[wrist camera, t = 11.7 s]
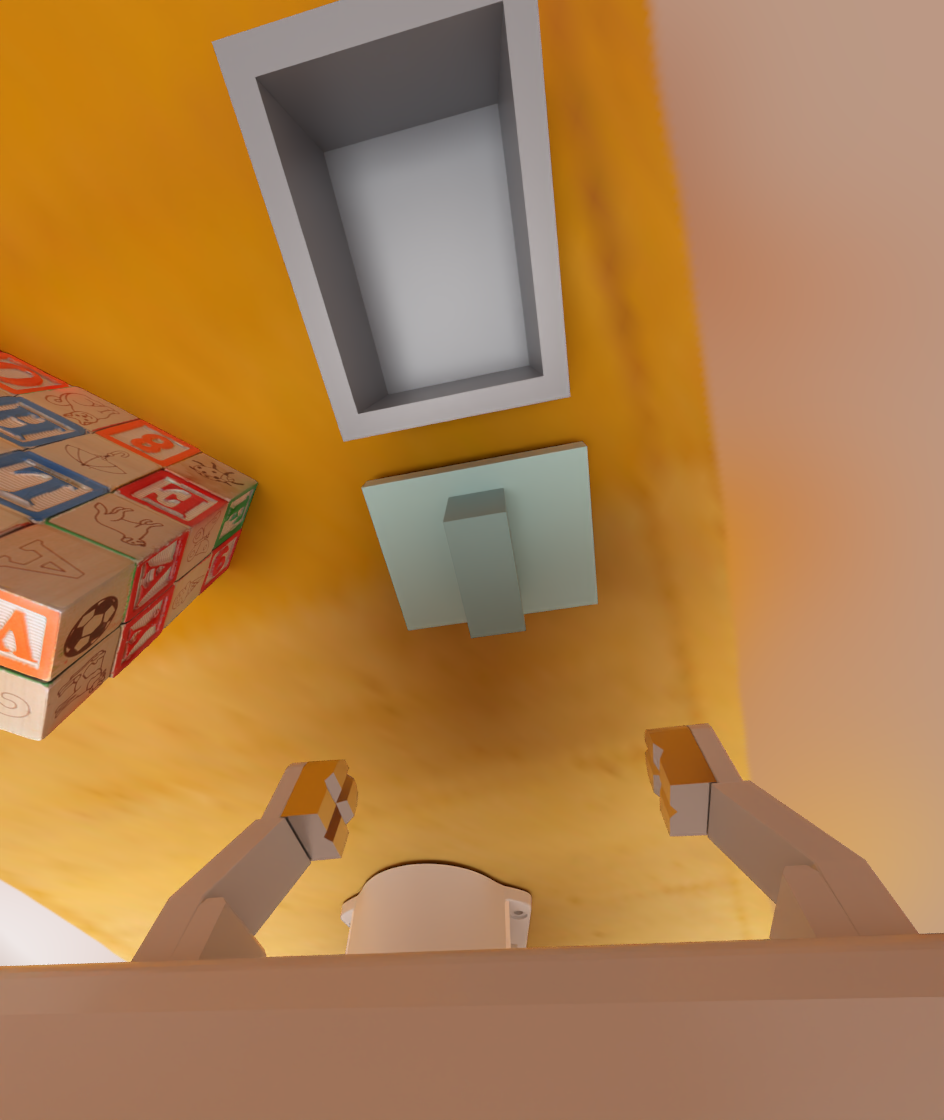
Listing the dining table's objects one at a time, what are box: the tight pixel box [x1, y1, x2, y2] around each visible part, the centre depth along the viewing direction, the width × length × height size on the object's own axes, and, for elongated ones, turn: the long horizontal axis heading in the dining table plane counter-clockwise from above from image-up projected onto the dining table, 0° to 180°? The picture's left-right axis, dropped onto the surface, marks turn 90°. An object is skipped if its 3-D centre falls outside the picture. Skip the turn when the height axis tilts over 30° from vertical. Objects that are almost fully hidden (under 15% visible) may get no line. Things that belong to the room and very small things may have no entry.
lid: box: [362, 441, 598, 638], centre depth 21 cm, size 10×8×5 cm
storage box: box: [212, 0, 570, 441], centre depth 15 cm, size 10×8×6 cm
